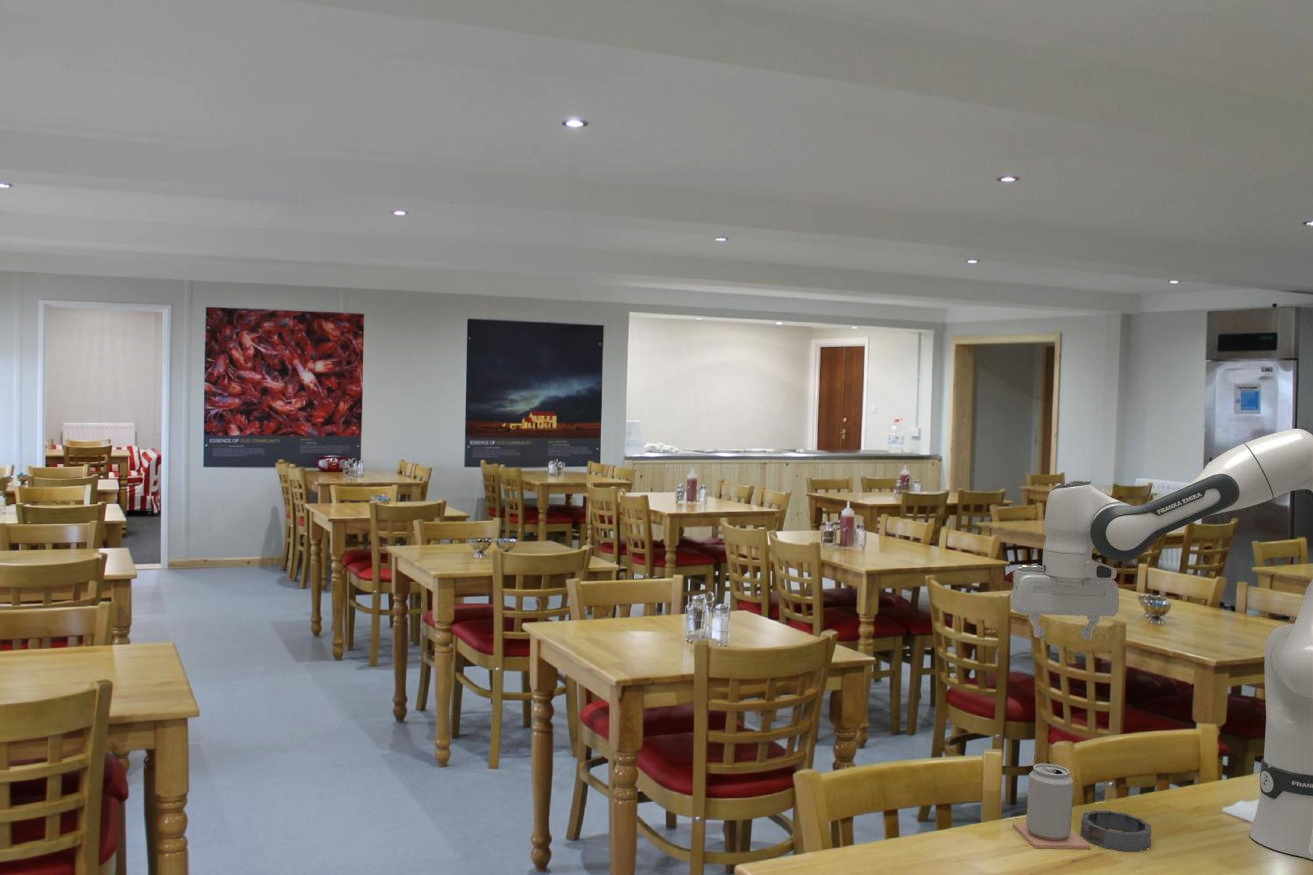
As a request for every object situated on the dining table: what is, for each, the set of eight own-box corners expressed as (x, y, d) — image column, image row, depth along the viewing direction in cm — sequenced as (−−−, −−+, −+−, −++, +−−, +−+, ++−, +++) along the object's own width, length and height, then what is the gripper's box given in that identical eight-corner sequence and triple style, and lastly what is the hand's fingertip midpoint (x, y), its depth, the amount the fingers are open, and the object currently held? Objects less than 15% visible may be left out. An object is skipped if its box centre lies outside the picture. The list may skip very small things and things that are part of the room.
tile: (1065, 827, 208) (1065, 824, 208) (1090, 848, 198) (1090, 845, 198) (1012, 826, 207) (1013, 823, 207) (1035, 848, 197) (1035, 844, 197)
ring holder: (1130, 826, 210) (1131, 810, 210) (1162, 851, 198) (1163, 834, 198) (1070, 825, 209) (1071, 809, 209) (1099, 850, 197) (1100, 833, 197)
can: (1075, 843, 198) (1079, 776, 198) (1031, 840, 199) (1035, 773, 199) (1063, 827, 206) (1067, 762, 205) (1021, 824, 207) (1025, 759, 206)
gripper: (1020, 566, 213) (1016, 639, 213) (1125, 570, 214) (1121, 642, 215) (1007, 562, 219) (1003, 632, 219) (1109, 565, 220) (1105, 635, 221)
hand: (1062, 637), depth 217 cm, fingers open, 8 cm apart
